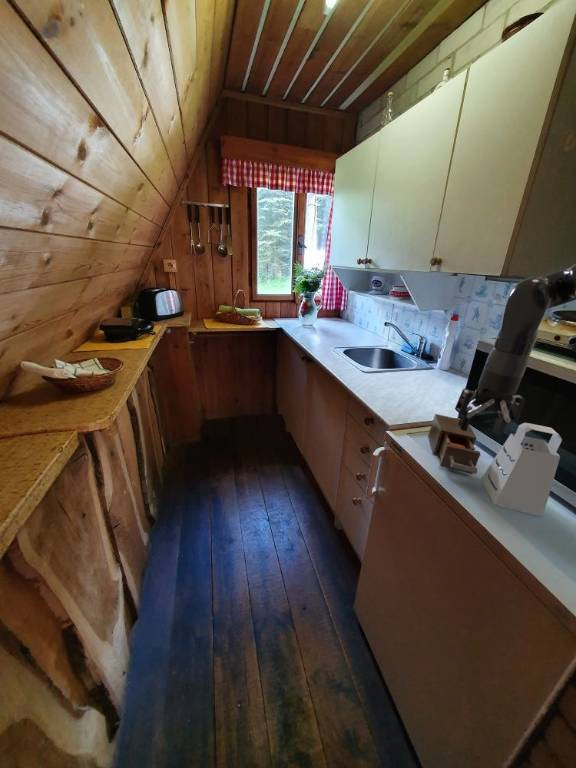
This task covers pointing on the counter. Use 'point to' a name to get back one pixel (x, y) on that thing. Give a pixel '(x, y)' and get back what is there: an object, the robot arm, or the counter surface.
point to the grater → (524, 471)
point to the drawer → (458, 454)
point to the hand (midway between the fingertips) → (479, 431)
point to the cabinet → (447, 431)
